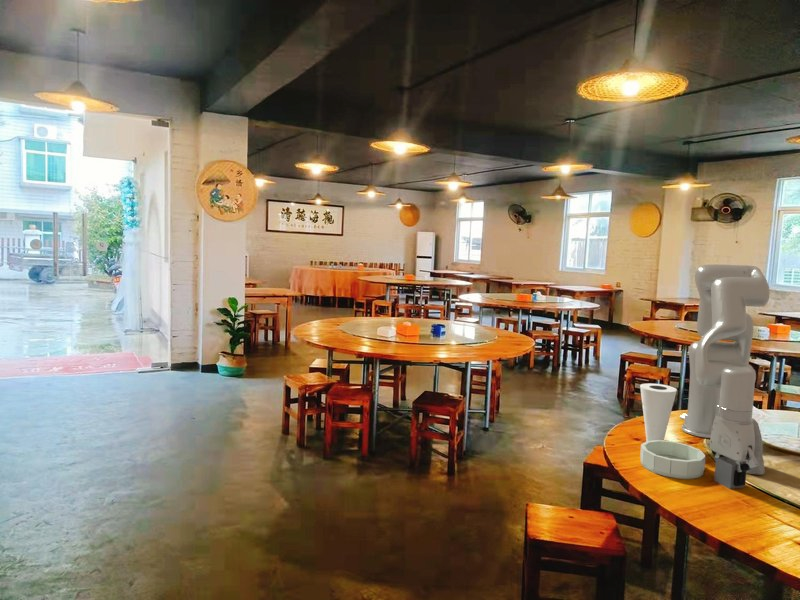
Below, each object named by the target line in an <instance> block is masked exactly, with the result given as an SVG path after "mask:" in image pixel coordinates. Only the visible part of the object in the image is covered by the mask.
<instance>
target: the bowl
mask: <svg viewBox="0 0 800 600" xmlns="http://www.w3.org/2000/svg"><path fill="white" fill-rule="evenodd" d="M639 458H640V464H641V466H642V467H643V468H644V469H646V470H648V471H649V472H652V473H654V474H656V475H660V476H663V477H667V478H671V479H677V480H678V479H680V480H694V479H695V480H696V479H699V478H701V477H702V476H704V471H705V468H706V455H705V453H704V452H703V451H702V450H701V449H699V448H696V447H694V446H692V445H689V444H686V443H682V442H678V441H674V440H673V441H672V440H665V439H664V440H652V441H644V442H643V443H641V444H640V454H639Z"/></svg>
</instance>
